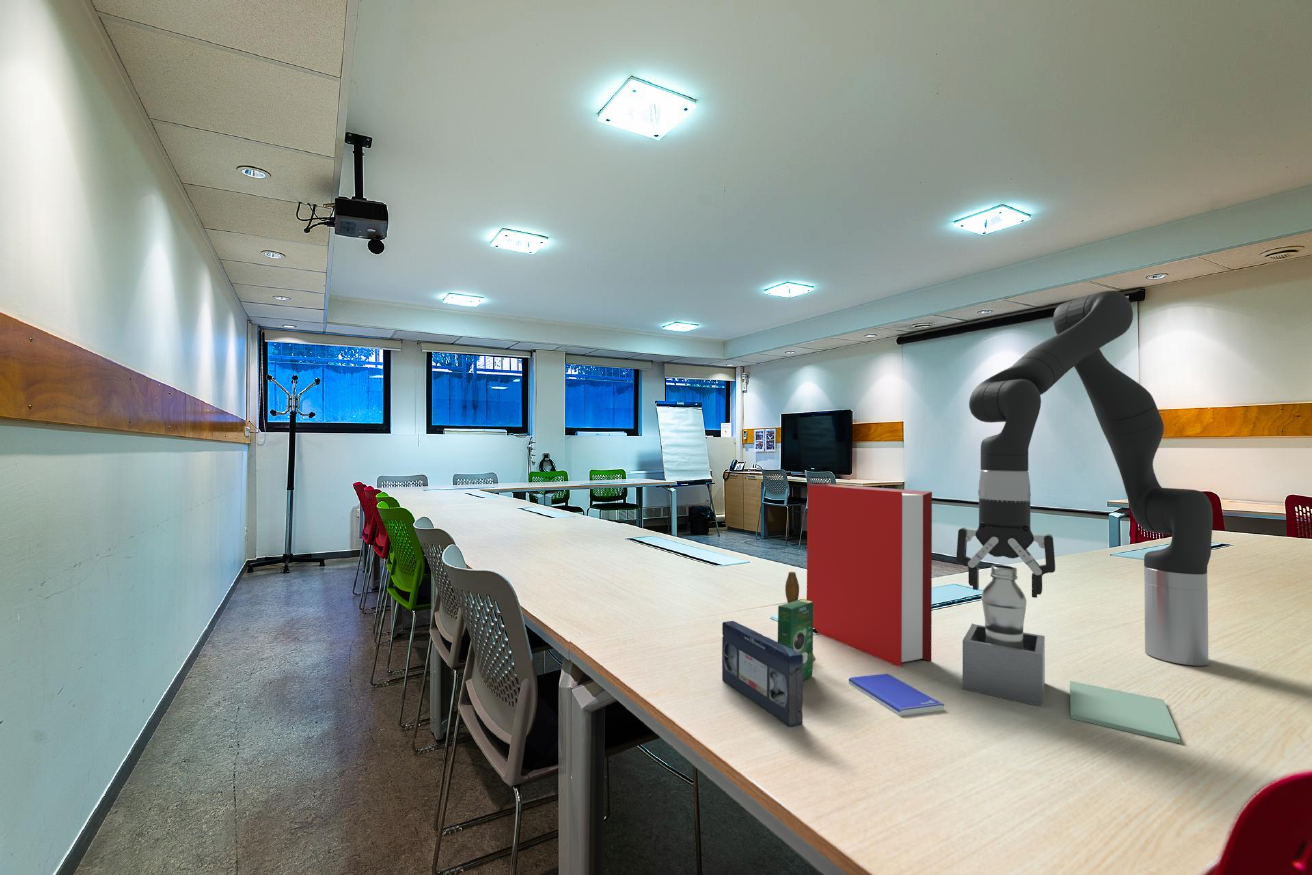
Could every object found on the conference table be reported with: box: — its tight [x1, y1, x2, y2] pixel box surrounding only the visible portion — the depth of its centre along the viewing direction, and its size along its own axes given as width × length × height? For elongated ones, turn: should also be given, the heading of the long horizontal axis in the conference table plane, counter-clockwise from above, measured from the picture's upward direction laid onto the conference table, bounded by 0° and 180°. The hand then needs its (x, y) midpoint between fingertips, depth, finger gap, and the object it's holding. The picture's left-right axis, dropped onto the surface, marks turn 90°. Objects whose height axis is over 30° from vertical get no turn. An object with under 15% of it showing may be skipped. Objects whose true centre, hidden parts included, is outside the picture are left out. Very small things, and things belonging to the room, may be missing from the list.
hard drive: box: [848, 673, 945, 717], centre depth 91 cm, size 2×8×12 cm
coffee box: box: [777, 598, 814, 681], centre depth 97 cm, size 8×3×13 cm, turn 137°
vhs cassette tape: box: [721, 620, 804, 728], centre depth 88 cm, size 18×3×10 cm, turn 23°
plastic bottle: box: [981, 564, 1028, 650], centre depth 96 cm, size 6×7×20 cm
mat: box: [1069, 680, 1181, 744], centre depth 87 cm, size 16×12×1 cm
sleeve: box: [962, 623, 1046, 708], centre depth 96 cm, size 12×11×8 cm
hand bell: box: [784, 571, 816, 661], centre depth 109 cm, size 8×8×16 cm
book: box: [806, 483, 933, 668], centre depth 118 cm, size 27×8×32 cm, turn 25°
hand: (1004, 592), depth 96 cm, fingers open, 8 cm apart
